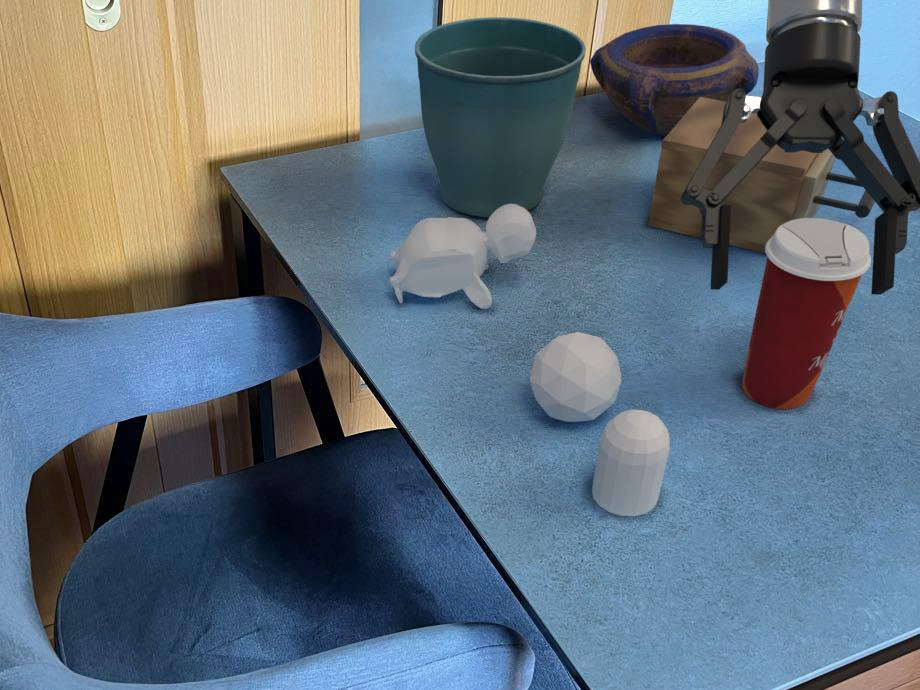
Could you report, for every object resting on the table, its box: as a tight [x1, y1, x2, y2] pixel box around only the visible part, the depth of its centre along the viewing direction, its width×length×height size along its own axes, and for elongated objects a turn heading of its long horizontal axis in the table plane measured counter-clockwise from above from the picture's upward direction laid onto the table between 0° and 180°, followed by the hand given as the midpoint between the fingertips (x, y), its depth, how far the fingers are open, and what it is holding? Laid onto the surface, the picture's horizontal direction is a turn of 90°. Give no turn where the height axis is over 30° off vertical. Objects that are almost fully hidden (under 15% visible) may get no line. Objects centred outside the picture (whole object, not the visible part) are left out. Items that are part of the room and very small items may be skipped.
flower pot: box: [414, 16, 587, 218], centre depth 115 cm, size 18×18×17 cm
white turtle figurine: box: [389, 204, 537, 310], centre depth 104 cm, size 9×8×15 cm
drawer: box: [792, 136, 876, 220], centre depth 111 cm, size 19×12×8 cm, turn 60°
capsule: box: [591, 409, 671, 517], centre depth 81 cm, size 5×5×8 cm
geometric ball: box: [529, 331, 622, 423], centre depth 89 cm, size 8×8×8 cm
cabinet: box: [647, 97, 818, 254], centre depth 113 cm, size 15×13×10 cm
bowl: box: [589, 23, 760, 137], centre depth 131 cm, size 18×18×10 cm
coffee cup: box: [742, 217, 872, 410], centre depth 88 cm, size 8×8×15 cm
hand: (800, 288), depth 88 cm, fingers open, 13 cm apart
